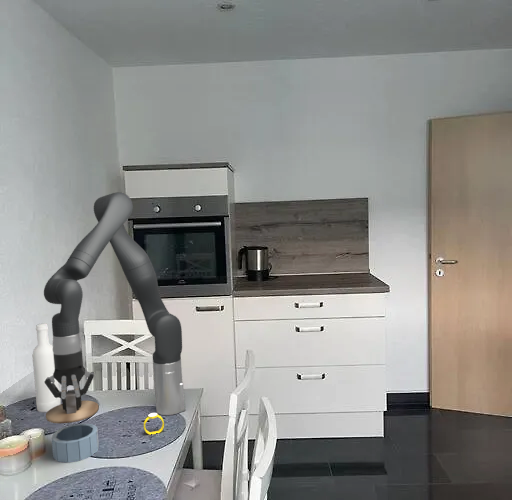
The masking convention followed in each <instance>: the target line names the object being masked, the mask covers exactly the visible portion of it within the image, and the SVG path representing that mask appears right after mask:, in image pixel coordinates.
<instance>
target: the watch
mask: <svg viewBox="0 0 512 500" xmlns="http://www.w3.org/2000/svg"><path fill="white" fill-rule="evenodd" d="M157 418H159V419H160V420H161V422H162V424H161V428H159V429H158V430H156V431H149V430H147V428H146V423H148V421H149V420H152V419H153V420H154V419H157ZM164 427H165V422H164V418H163V417H162V415H160V414H158V413H157V412H151V413H149V414H148V416H147V417H146V418H145V420H144V421H143V430H144V432H145V433H146V434H147V435H149V436H151V434H152V435H156V433H158V434H160V433H162V432H163V430H164Z"/></svg>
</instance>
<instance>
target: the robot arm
mask: <svg viewBox="0 0 512 500" xmlns="http://www.w3.org/2000/svg"><path fill="white" fill-rule="evenodd" d="M133 210H134V205H133V201H132V199H131V198H130V196H129V195H128V194H126V193H124V192H122V191H121V192H119V191H117V192H112V193H109V194H106V195H102V196H100V197H98V198H97V199H96V200H95V201H94V203H93V213H94V215H95V218H96V221H97V224H95V226H94V227H93V228H92V229H91V230H90V231H89V232H88V233H87V234H86V235H85V236H84V237H83V238H82V240H81V241H79V243H78V244H77V245H76V246H75V247H74V250H73V251H72V253H71V254H70V255H69V256H68V258H67V260H66V262H65V263H64V264H63V265H62V266H61V267H60V268H59V269H58V270H57V271H55V272H54V274H53V275H51V276H50V278H49V279H48V280H47V282H46V283H45V285H44V289H43V297H44V298H45V300H46V302H47V303H49V304H52V305H53V304H54V305H60V311H59V312H58V313H56V314H54V315H53V316H52V317H51V329H52V345H53V355H54V367H55V371H54V373H53V375H52V376H51V377H47V378H46V380H45V384H46V386H47V387H48V388H49V390H50V391H51V393H52V394H53V395H54V397H55V398H61V404H62V406H63V410H65V412H67V409H66V394H67V391H68V387H69V386H72V388H73V390H75V395H76V409H77V410H79V408H81V405H82V401H83V400H82V396H83V395H86V394H87V393H88V391H89V388H90V386H91V384H92V382H93V379H94V377H95V372H94V371H87V370H86V368H85V366H84V359H83V348H82V346H83V345H82V344H83V343H82V338H81V337H82V336H81V333H80V322H79V317H80V314H81V313H80V312H81V308H82V303H83V295H84V294H83V293H84V292H83V288H82V286H81V284H80V283H79V282H78V281H79V280H83V279H85V278H87V277H88V275H89V274H90V273H91V271H92V269H93V268H94V266H95V265H96V262H97V261H98V259H99V257H100V256H101V254H102V253H103V251H104V250H105V248H106V247H107V246H108V244H109V243H110V245H111V247H112V249H113V252H114V254H115V256H116V259H117V260H118V262H119V264H120V267H121V270H122V272H123V274H124V275H125V276H124V277H125V278H126V280H127V282H128V285H129V287H130V288H131V290H132V292H133V295H134V296H135V298H136V299H137V301H138V303H139V306H140V308H141V312H142V314H143V316H144V320H145V323H146V326H147V329H148V331H149V333H150V335H151V336H152V337H154V352H153V353H152V364H153V378H154V393H155V395H154V397H155V409H156V413H157V414H158V415H160V416H172V415H173V416H174V415H176V414H179V413H181V412H186V410H185V409H186V406H185V405H186V404H185V392H184V391H185V390H184V381H183V372H182V369H183V367H182V359H181V355H182V351H183V331H182V323H181V321H180V319H179V318H178V316H176V315H174V314H172V313H170V312H169V310H168V309H167V306H166V305H165V303H164V301H163V299H162V297H161V295H160V291H159V284H158V277H157V273H156V271H155V267H154V265H153V263H152V261H151V259H150V257H149V255H148V253H147V252H146V251H145V250H144V249H143V248H142V247H141V246H140V244H138V243H137V241H135V240H134V239H133V238H132V236H130V234H129V233H128V231H127V229H126V227H125V225H124V224H125V223H126V221H128V220H129V218H130V217H131V215H133ZM83 377H84V379H85V381H86V382H85V384H84V386H83V388H81V384H80V382H81V380H82V379H83ZM54 379H56V380H57V381H58V382H59V385H60V386H61V389H60V391H59V390H58V388H57V387H56V385H55V384H54V382H55V380H54Z"/></svg>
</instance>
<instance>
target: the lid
mask: <svg viewBox="0 0 512 500" xmlns="http://www.w3.org/2000/svg"><path fill="white" fill-rule="evenodd" d="M81 401H82V405H81V408H79V410H77V409H76V395H75V390H74V389H69V390H68V389H67V394H66V409H67V412H65V410H63V406H62V403H61V404H60V405H58V406H55V407H53V408H52V409H50V410H49V411H48V412H45V419H46V421H47V422H49V423H51V424H52V423H53V424H57V425H58V424H61V425H62V424H70V423H76V422H80V421H84V420H86V419H89V418H91V417H93V416H95V415H96V414H97V413H98V412H99V409H100V408H99V404H98V402H97V401H96V402H95V401H93V400H81Z"/></svg>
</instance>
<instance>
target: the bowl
mask: <svg viewBox="0 0 512 500" xmlns="http://www.w3.org/2000/svg"><path fill="white" fill-rule="evenodd" d="M98 431H99V430H98V426H96V425H95V424H93V423H85V422H83V423H75V424H71V425H67V426H64V427H62V428H60V429H58V430H57V431H55V432H54V433H52V436H51V447H52V458H53V460H55V461H56V462H58V463H67V464H68V463H73V462H79V461H83V460H85V459H88V458H90V457H92V456H93V455H95V454H94V453H97V452H98V451H99V447H100V445H99V444H100V443H99V442H100V441H99V434H98V433H99V432H98Z"/></svg>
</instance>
